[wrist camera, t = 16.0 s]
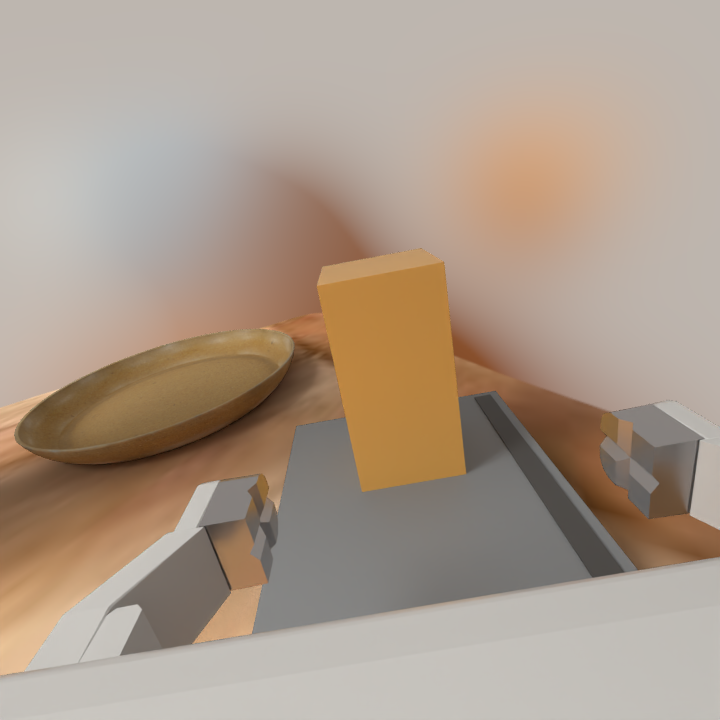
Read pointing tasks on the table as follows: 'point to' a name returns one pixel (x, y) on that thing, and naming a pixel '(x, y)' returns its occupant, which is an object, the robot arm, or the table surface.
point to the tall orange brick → (395, 366)
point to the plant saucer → (158, 398)
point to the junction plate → (426, 527)
